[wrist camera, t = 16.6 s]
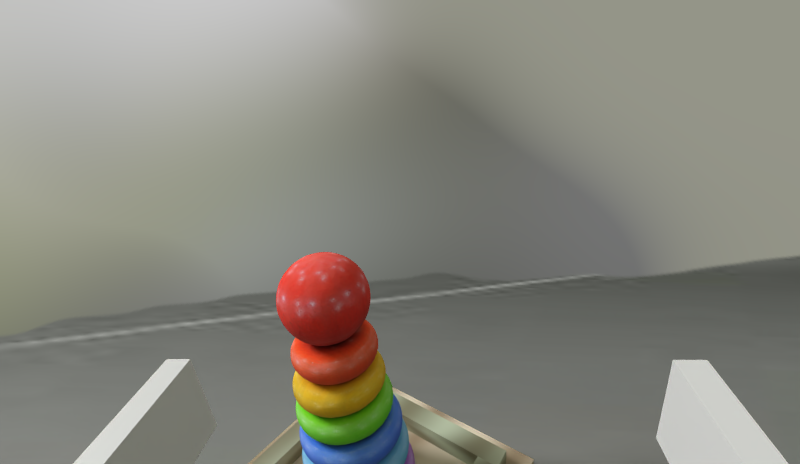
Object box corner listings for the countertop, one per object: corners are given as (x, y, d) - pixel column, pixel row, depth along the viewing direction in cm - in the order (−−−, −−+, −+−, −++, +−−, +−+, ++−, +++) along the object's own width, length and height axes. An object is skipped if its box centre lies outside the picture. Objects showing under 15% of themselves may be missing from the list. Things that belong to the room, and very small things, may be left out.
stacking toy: (427, 447, 32) (408, 227, 24) (413, 565, 25) (381, 307, 17) (330, 438, 33) (283, 228, 25) (290, 548, 26) (208, 303, 18)
